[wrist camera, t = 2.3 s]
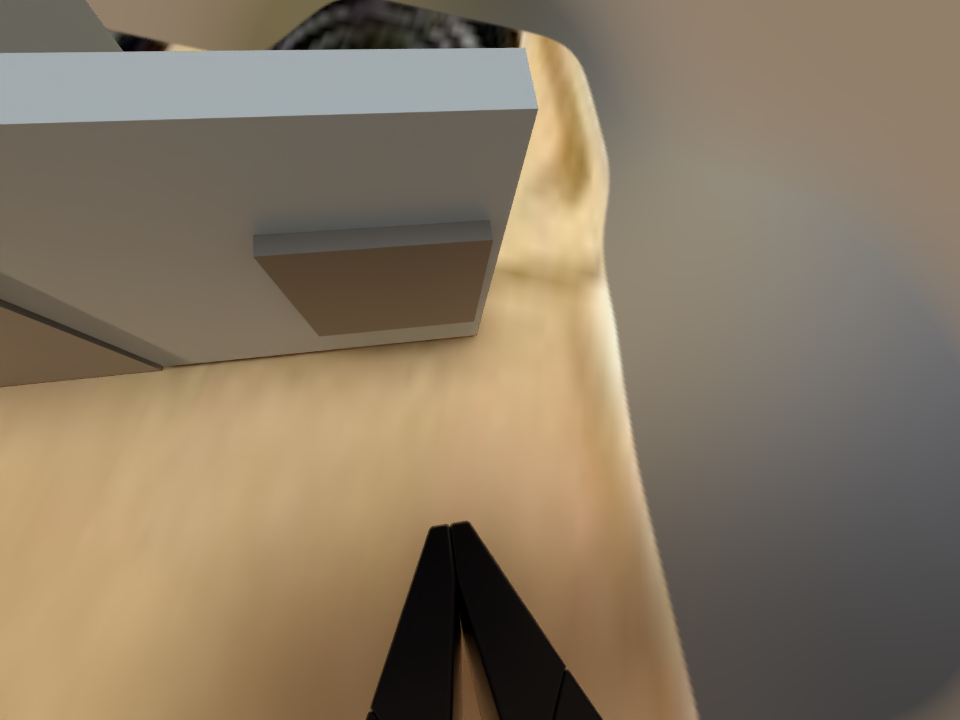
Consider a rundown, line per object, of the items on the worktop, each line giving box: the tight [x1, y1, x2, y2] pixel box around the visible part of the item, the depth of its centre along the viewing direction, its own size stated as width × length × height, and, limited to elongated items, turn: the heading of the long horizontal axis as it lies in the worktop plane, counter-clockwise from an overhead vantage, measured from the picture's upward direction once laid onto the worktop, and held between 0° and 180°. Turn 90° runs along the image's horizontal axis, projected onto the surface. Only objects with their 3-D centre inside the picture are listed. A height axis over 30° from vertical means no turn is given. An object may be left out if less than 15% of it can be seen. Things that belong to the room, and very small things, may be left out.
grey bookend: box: [0, 0, 538, 366], centre depth 15 cm, size 12×14×13 cm
